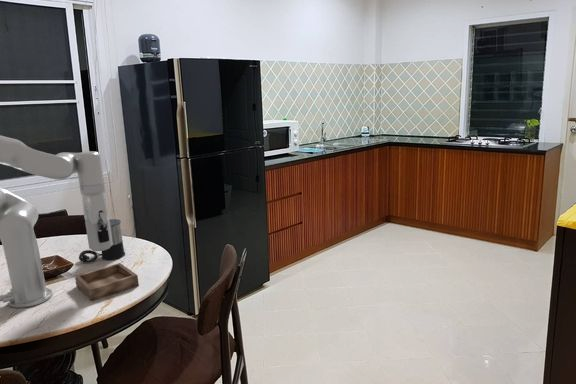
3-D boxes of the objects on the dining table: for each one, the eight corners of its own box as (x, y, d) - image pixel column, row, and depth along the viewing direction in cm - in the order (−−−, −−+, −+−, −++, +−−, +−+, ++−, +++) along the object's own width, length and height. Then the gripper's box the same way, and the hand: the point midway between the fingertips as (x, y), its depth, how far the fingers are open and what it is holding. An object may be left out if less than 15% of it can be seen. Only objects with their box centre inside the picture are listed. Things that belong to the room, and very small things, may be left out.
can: (104, 252, 148) (99, 218, 145) (84, 251, 149) (79, 217, 146) (117, 244, 155) (112, 211, 152) (98, 244, 156) (93, 211, 154)
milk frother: (130, 254, 185) (125, 220, 182) (98, 268, 172) (93, 231, 168) (107, 249, 192) (102, 216, 188) (74, 262, 179) (69, 227, 175)
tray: (91, 301, 144) (89, 290, 143) (76, 286, 156) (74, 276, 155) (138, 285, 154) (137, 275, 154) (121, 272, 166) (119, 262, 165)
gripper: (72, 187, 151) (80, 236, 155) (89, 195, 138) (97, 248, 142) (95, 183, 156) (102, 231, 160) (113, 190, 143) (120, 242, 147)
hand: (99, 238), depth 151 cm, fingers closed on can, 7 cm apart
